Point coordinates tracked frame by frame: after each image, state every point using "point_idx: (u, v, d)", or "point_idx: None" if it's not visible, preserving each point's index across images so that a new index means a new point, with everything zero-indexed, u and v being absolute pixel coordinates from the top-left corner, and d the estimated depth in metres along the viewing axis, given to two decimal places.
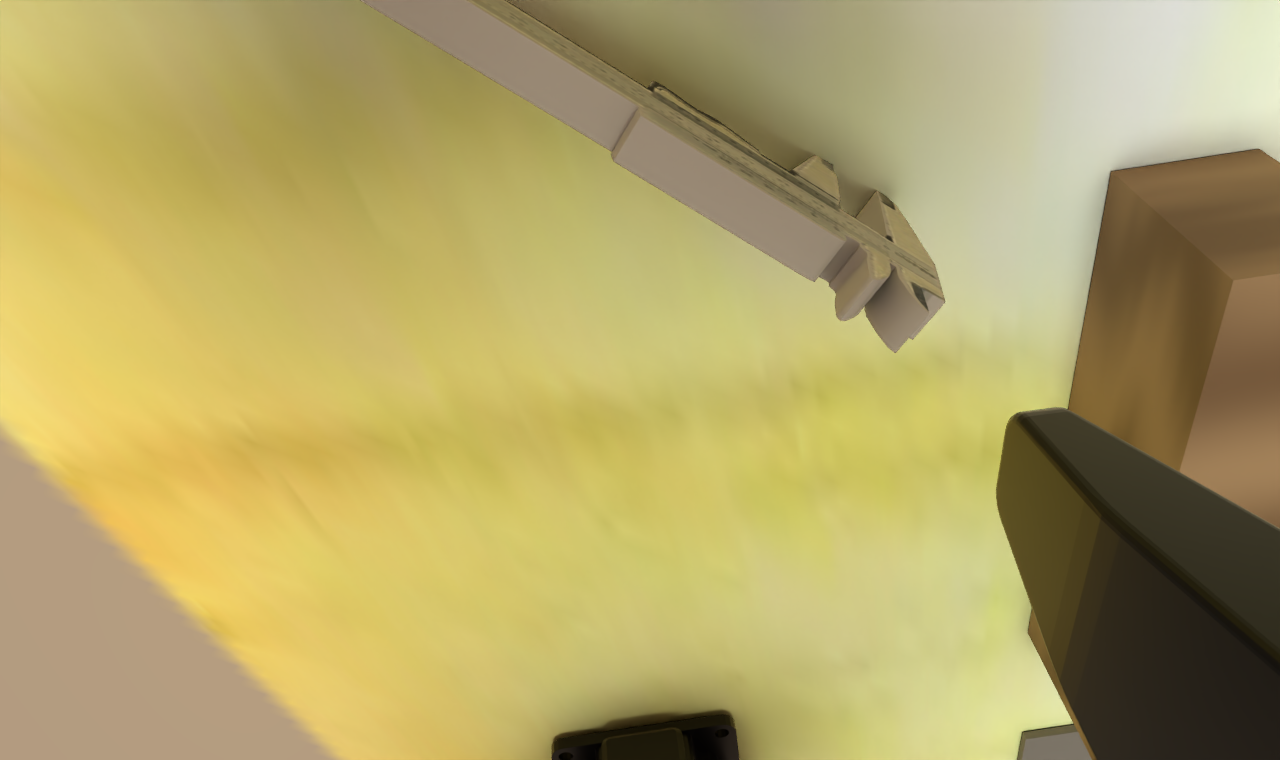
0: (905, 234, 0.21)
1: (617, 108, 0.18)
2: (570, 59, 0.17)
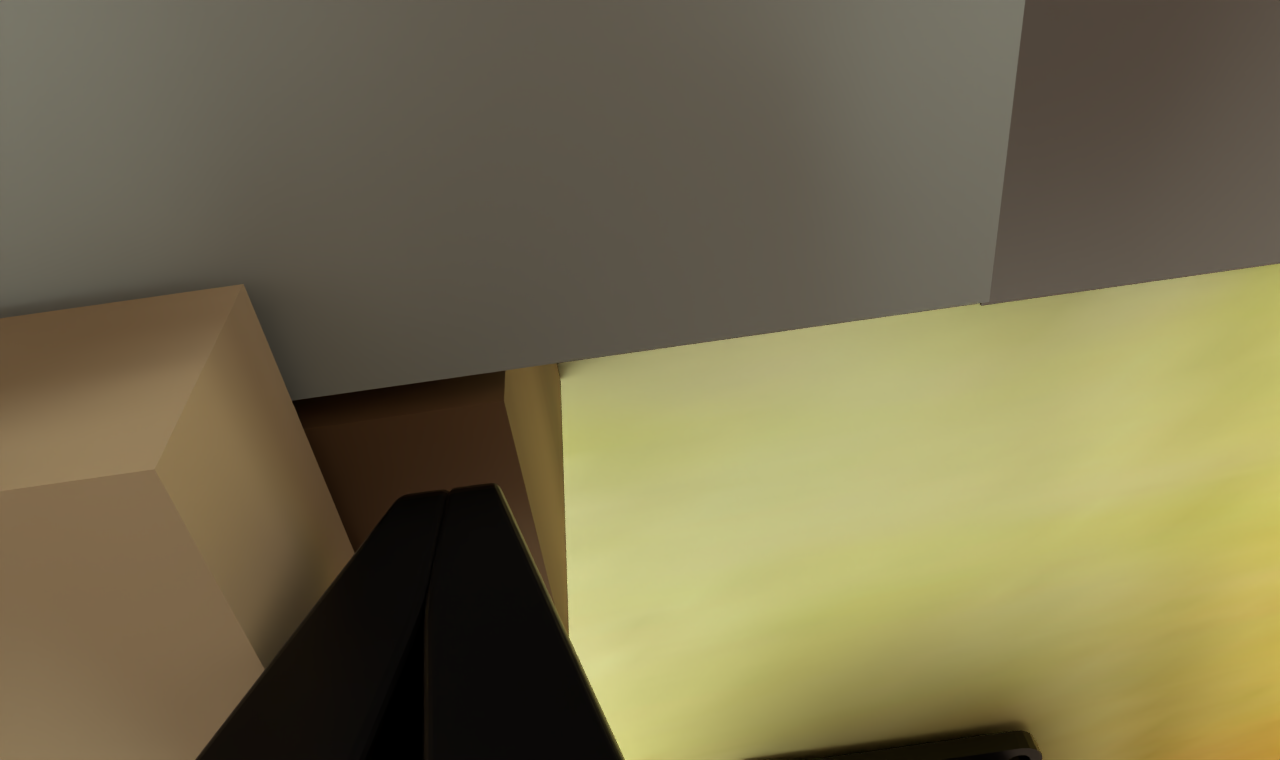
0: None
1: None
2: None
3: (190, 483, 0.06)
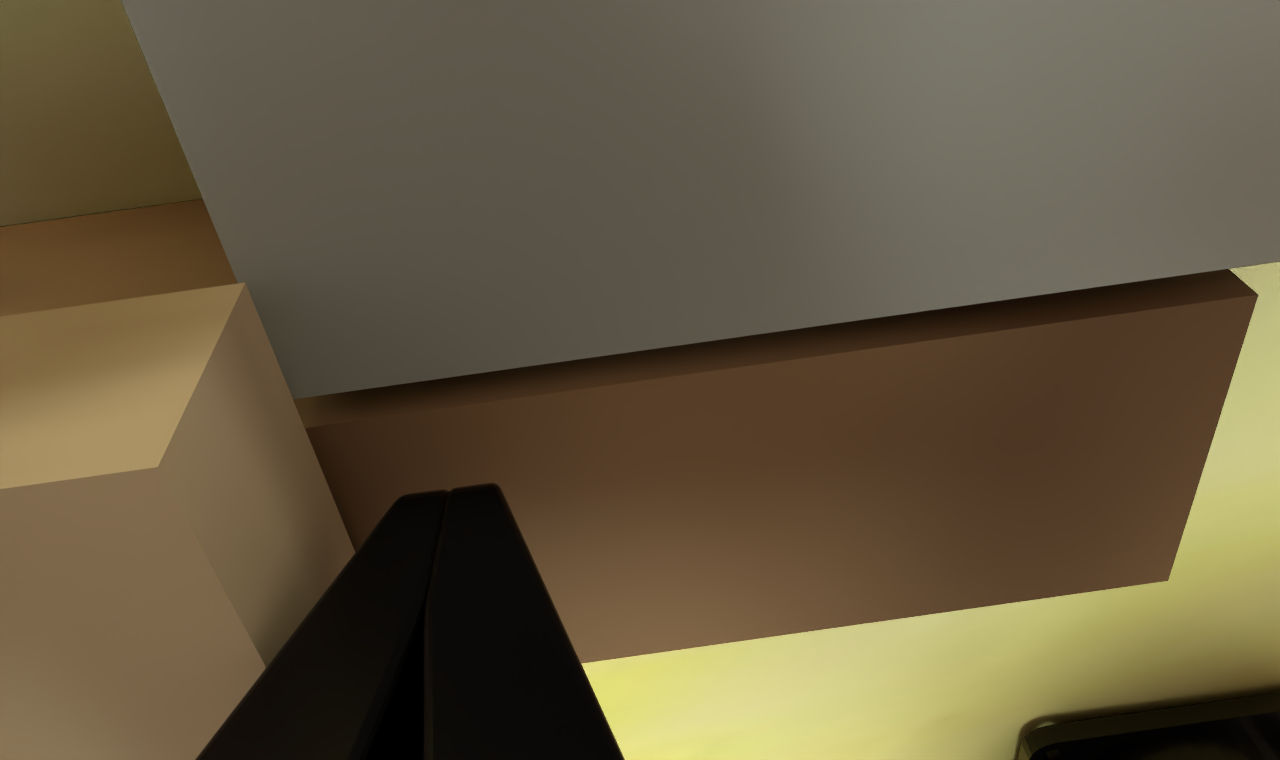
0: None
1: None
2: None
3: (191, 481, 0.06)
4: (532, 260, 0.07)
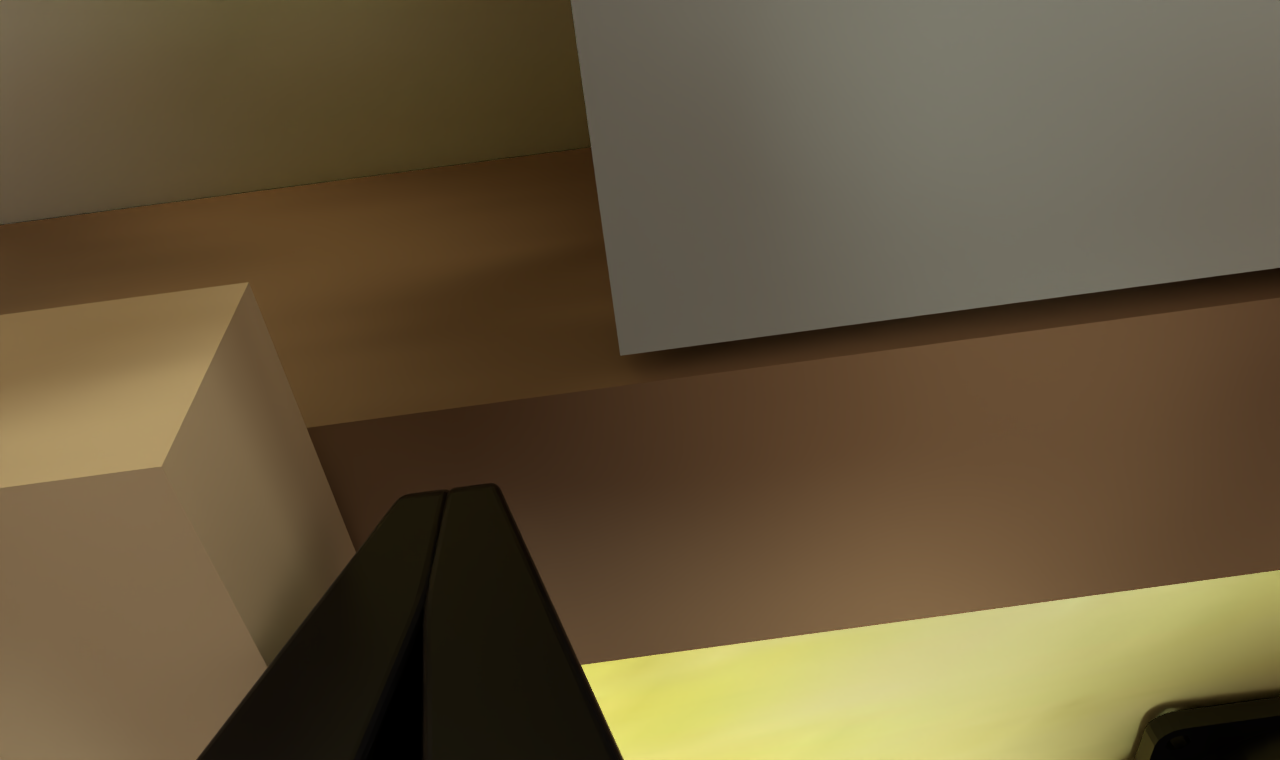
0: None
1: None
2: None
3: (196, 481, 0.06)
4: (891, 214, 0.07)
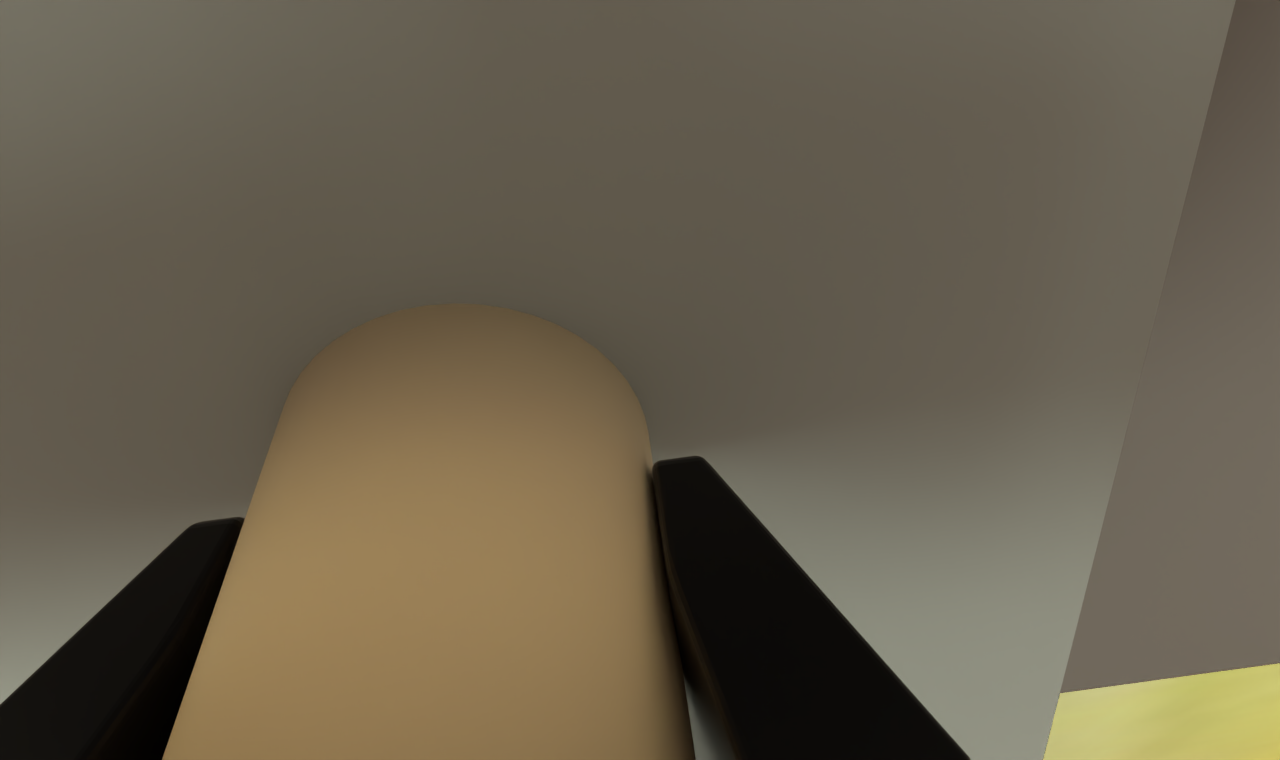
0: None
1: None
2: None
3: None
4: None
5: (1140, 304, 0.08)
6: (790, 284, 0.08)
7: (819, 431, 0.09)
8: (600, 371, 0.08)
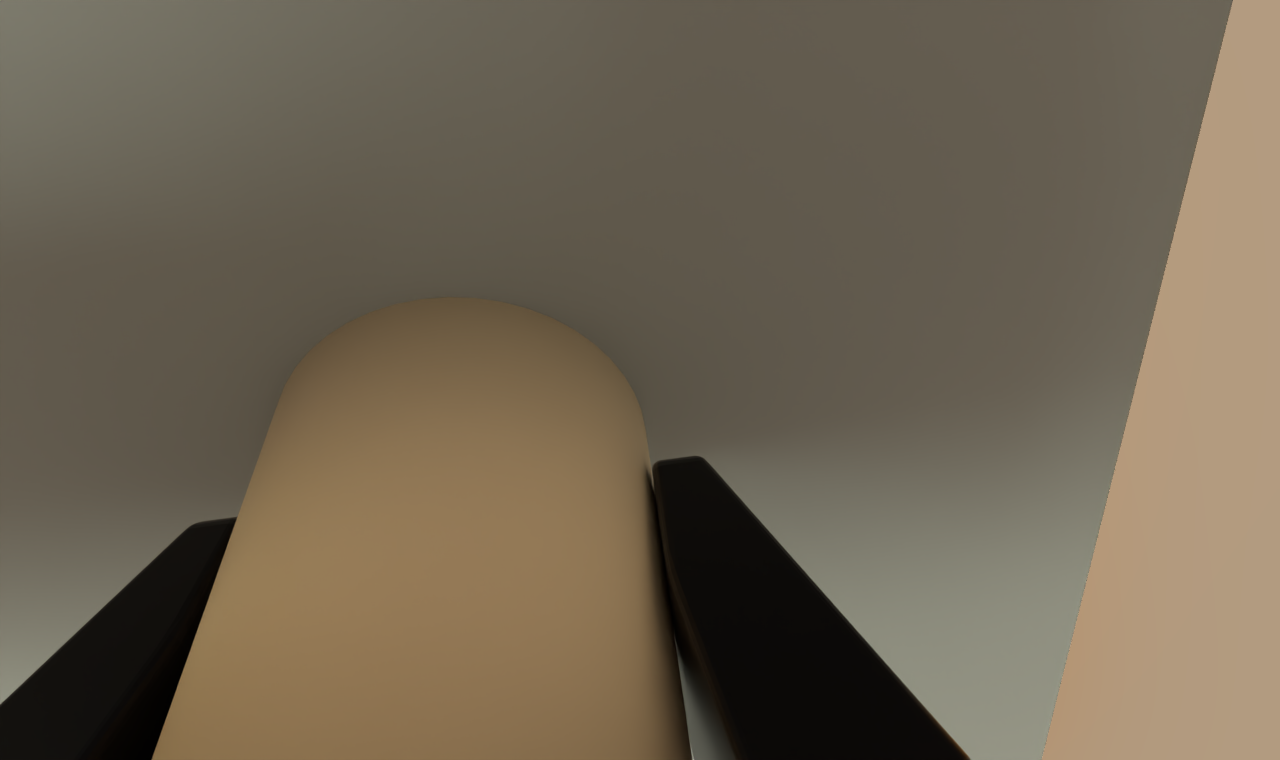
0: None
1: None
2: None
3: None
4: None
5: (1139, 298, 0.08)
6: (787, 278, 0.08)
7: (817, 426, 0.09)
8: (596, 365, 0.08)
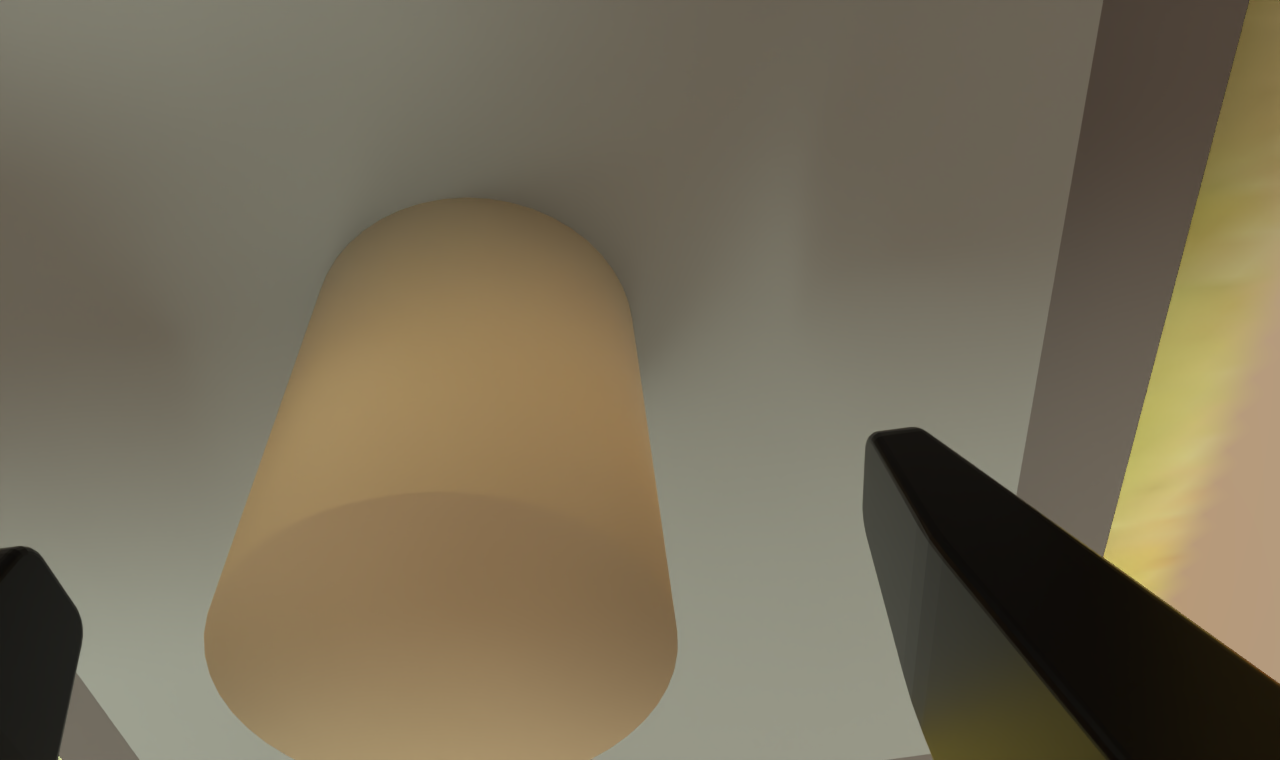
0: None
1: None
2: None
3: None
4: None
5: (1051, 204, 0.10)
6: (751, 183, 0.09)
7: (779, 319, 0.10)
8: (589, 257, 0.09)
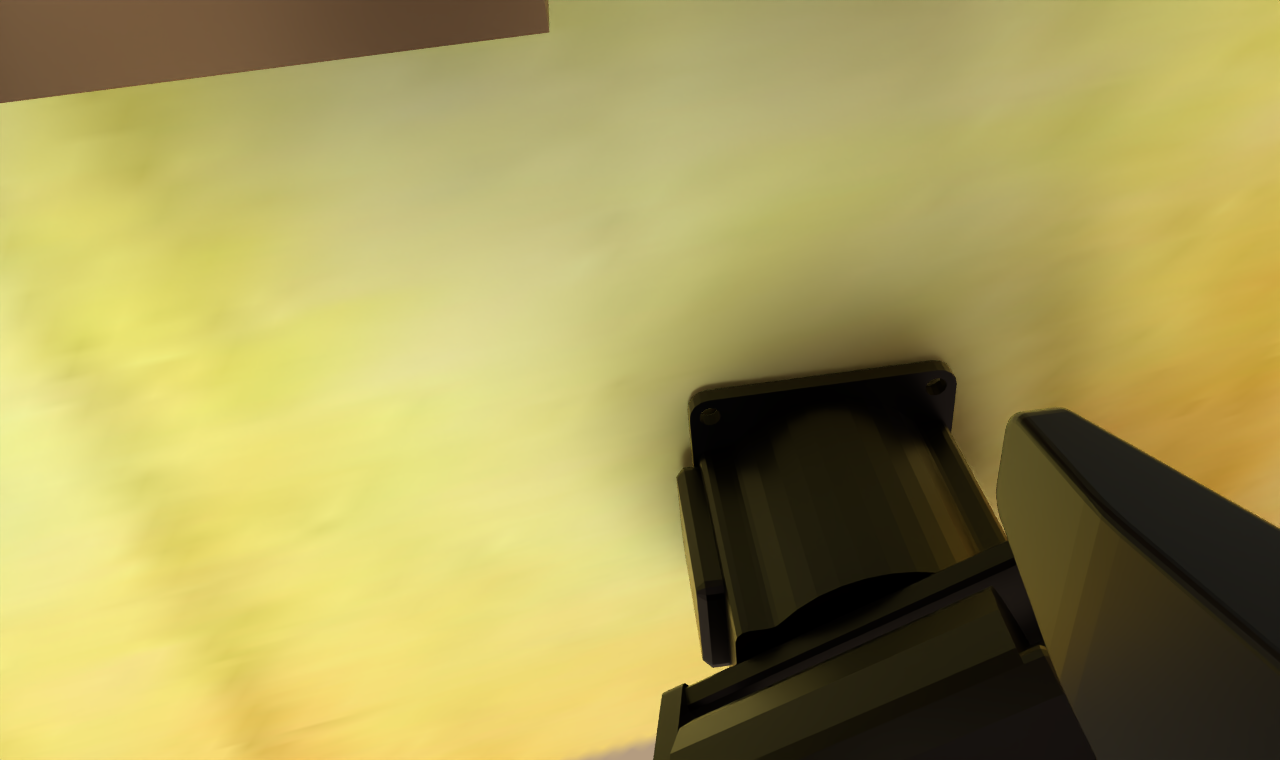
0: None
1: None
2: None
3: None
4: None
5: None
6: None
7: None
8: None
